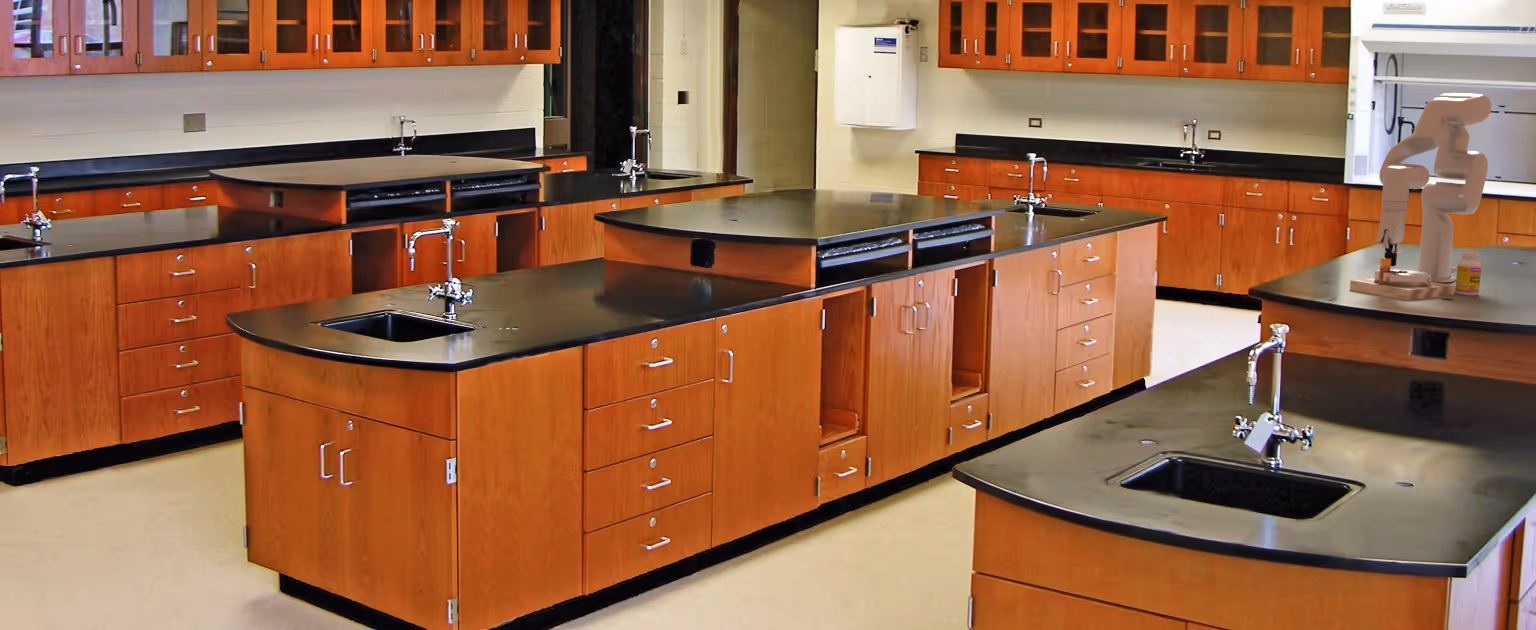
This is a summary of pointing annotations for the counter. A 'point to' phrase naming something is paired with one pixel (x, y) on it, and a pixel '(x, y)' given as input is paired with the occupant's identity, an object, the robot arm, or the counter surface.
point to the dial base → (1401, 289)
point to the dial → (1402, 276)
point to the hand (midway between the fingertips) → (1389, 265)
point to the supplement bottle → (1468, 274)
